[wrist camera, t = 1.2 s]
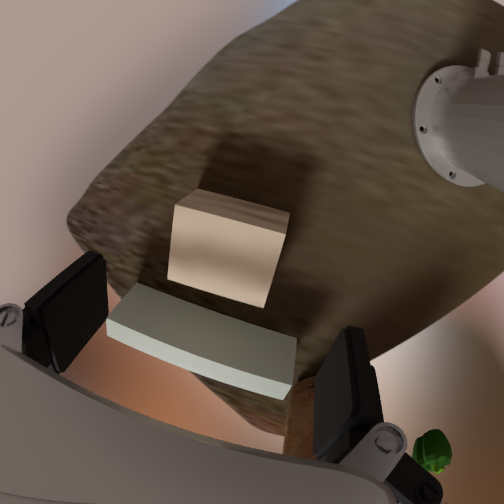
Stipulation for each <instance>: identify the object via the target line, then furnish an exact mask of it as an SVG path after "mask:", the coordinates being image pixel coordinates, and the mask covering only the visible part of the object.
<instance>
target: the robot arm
mask: <svg viewBox="0 0 504 504" xmlns="http://www.w3.org/2000/svg"><path fill="white" fill-rule="evenodd" d="M490 60H491V53H490V52H488V51H487V50H484V49H479V52H478V57H477V65H476V67H473V69H472V68H469V67H466V66H458V65H452V66H447V67H443V68H441V69H438V70H436V71H434V72H433V73H431V74H430V75H429V76H428V77H427V78H426V79H425V80H424V81H423V82H422V84H421V86H420V88H419V89H418V91H417V94H416V97H415V100H414V105H413V113H412V117H413V129H414V134H415V139H416V141H417V144H418V147H419V149H420V151H421V153H422V155H423V157H424V158H425V160H426V161H427V163H428V164H429V165H430V166H431V168H432V169H433V170H434V171H435V172H437V173H438V174H439V175H440V176H441V177H443V178H445V179H446V180H448V181H450V182H452V183H454V184H456V185H460V186H465V187H475V186H479V185H483V184H485V183H487V184H489V185H491V186H492V187H494V188H496V189H498V190H500V191H502V192H503V193H504V52H497V55H496V61H495V70H494V75H489V73H488V67H489V65H490ZM435 78H436V79H437V83H436V81H435ZM420 127H422V128H423V130H422V131H420ZM450 172H451V174H450V175H449V173H450ZM24 304H25V308H24V309H23V310H22V309H21V307H19V306H18V305H16V304H10V303H7V304H3V305H1V306H0V504H443V503H442V502H441V500H442V496H443V490H442V486H441V484H440V482H439V481H438V480H437V479H436V478H435V477H434V476H432V475H431V474H430V473H429V472H428V471H427V470H425V469H424V468H423V467H422V466H421V465H420V464H418V463H417V462H416V461H415V460H414V459H413V458H412V457H410V456H409V455H408V454H407V453H406V452H405V451H406V449H407V438H406V436H405V434H404V433H403V431H402V430H401V429H400V428H399V427H398V426H396V425H394V424H392V423H388V422H386V423H385V422H384V420H383V413H382V406H381V400H380V394H379V389H378V383H377V378H376V372H375V369H374V367H373V366H372V365H370V360H369V355H368V350H367V345H366V340H365V335H364V331H363V329H362V328H357V327H353V326H347V327H346V329H345V328H342V329H341V330H340V332H339V334H338V336H337V338H336V340H335V342H334V344H333V346H332V348H331V349H330V351H329V353H328V355H327V357H326V359H325V361H324V362H323V364H322V366H321V368H320V369H319V371H318V373H317V375H316V378H315V383H314V425H313V449H312V453H313V455H315V456H316V460H312V459H306V458H300V457H294V456H289V455H283V454H278V453H273V452H268V451H264V450H259V449H254V448H249V447H245V446H241V445H237V444H232V443H229V442H225V441H222V440H218V439H214V438H211V437H207V436H204V435H201V434H197V433H194V432H191V431H188V430H184V429H182V428H178V427H176V426H173V425H170V424H167V423H164V422H162V421H159V420H156V419H153V418H151V417H148V416H146V415H143V414H141V413H138V412H136V411H133V410H131V409H129V408H126V407H124V406H121V405H119V404H117V403H115V402H112V401H110V400H108V399H106V398H104V397H102V396H99V395H97V394H95V393H93V392H91V391H89V390H87V389H85V388H83V387H81V386H79V385H77V384H75V383H73V382H71V381H69V380H68V379H66V378H64V377H62V376H60V375H59V374H60V372H61V373H62V372H64V371H65V370H66V369H67V368H68V367H69V365H70V364H71V363H72V361H73V360H74V359H75V357H76V356H77V355H78V354H79V352H80V351H81V350H82V349H83V347H84V346H85V345H86V344H87V342H88V341H89V340H90V339H91V338H92V336H93V335H94V334H95V332H96V331H97V330H98V329H99V328H100V327H101V325H102V324H103V323H104V322H105V320H106V319H107V317H108V313H109V310H108V295H107V276H106V261H105V259H103V256H102V255H101V254H99V253H96V252H93V251H88V252H86V253H85V254H84V255H82V256H81V257H80V258H79V259H77V260H76V261H75V262H74V263H72V264H71V265H70V266H69V267H67V268H66V269H65V270H63V271H62V272H61V273H60V274H58V275H57V276H56V277H55V278H54V279H52V280H51V281H50V282H49V283H48V284H47V285H45V286H44V287H43V288H42V289H41V290H39V291H38V292H37V293H36V294H35V295H34V296H33V297H31V298H30V299H29V300H28V301H27V302H26V303H24ZM446 504H447V503H446Z"/></svg>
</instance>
